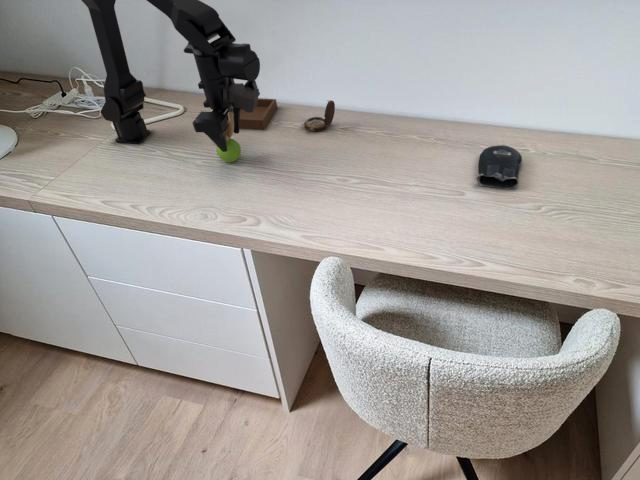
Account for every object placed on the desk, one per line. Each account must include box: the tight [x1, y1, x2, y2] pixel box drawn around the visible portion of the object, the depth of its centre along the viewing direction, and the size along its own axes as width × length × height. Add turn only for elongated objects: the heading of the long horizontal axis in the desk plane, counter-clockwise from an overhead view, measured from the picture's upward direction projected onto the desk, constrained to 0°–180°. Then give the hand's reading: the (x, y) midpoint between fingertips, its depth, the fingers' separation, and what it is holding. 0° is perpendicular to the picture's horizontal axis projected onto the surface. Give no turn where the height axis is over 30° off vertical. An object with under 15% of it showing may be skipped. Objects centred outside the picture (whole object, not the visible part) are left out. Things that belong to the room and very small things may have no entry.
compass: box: [304, 99, 336, 133], centre depth 125 cm, size 8×8×7 cm
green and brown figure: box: [216, 106, 242, 163], centre depth 112 cm, size 5×6×12 cm
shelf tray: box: [239, 97, 278, 131], centre depth 131 cm, size 13×13×3 cm
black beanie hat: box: [475, 144, 523, 190], centre depth 110 cm, size 9×6×15 cm
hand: (231, 142), depth 114 cm, fingers open, 8 cm apart
